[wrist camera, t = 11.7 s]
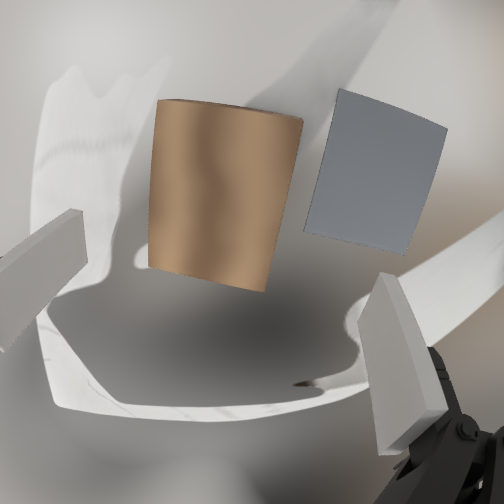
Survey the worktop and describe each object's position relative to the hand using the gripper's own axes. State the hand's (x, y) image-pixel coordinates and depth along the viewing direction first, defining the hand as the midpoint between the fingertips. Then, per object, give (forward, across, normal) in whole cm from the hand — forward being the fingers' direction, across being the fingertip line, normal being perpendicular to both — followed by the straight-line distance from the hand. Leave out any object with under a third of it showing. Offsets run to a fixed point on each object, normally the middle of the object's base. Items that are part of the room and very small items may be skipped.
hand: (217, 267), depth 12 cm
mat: (+29, -15, 0) cm, 32 cm away
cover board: (+16, +3, +2) cm, 17 cm away
